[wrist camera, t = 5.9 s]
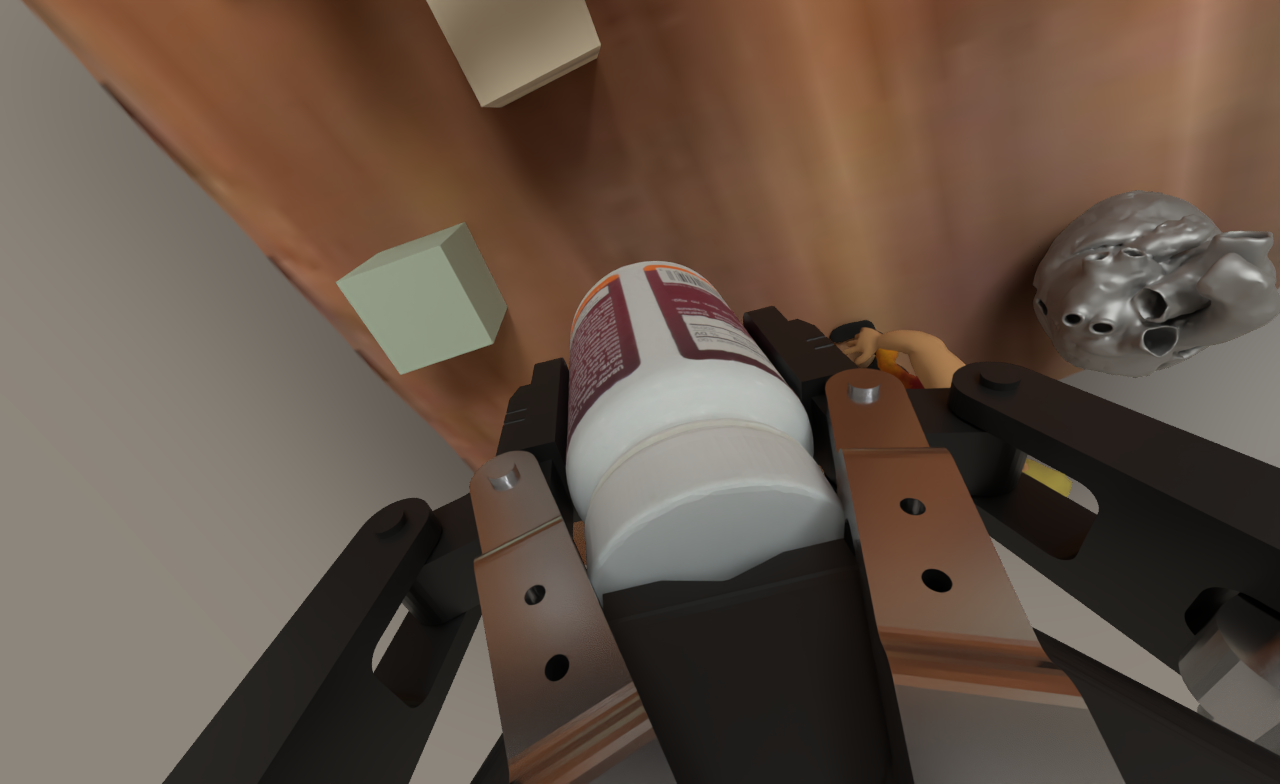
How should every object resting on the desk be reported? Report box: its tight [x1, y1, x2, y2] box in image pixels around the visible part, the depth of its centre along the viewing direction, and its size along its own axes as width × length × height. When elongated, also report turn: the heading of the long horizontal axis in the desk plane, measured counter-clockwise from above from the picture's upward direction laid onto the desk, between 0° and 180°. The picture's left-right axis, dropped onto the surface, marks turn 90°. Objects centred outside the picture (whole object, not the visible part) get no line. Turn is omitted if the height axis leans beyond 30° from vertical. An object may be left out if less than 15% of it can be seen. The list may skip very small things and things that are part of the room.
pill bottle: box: [566, 261, 844, 607], centre depth 10 cm, size 5×5×8 cm
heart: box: [1032, 190, 1280, 378], centre depth 24 cm, size 10×10×12 cm
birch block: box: [426, 0, 601, 108], centre depth 18 cm, size 5×5×5 cm
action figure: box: [830, 320, 1072, 497], centre depth 24 cm, size 9×4×15 cm, turn 37°
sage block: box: [336, 222, 507, 375], centre depth 23 cm, size 5×5×5 cm
